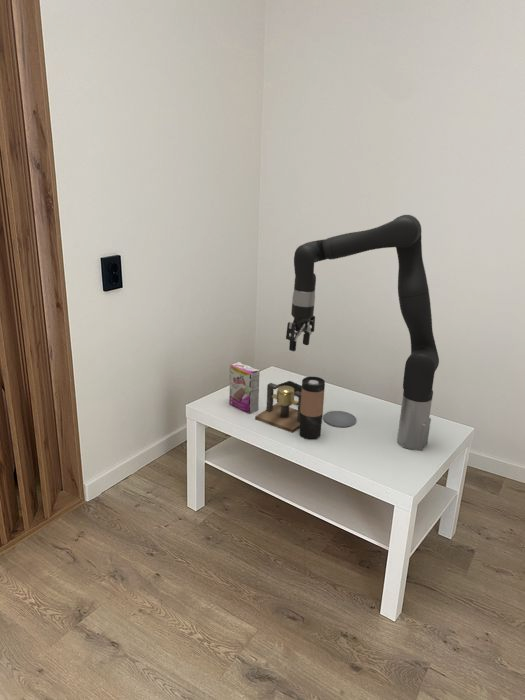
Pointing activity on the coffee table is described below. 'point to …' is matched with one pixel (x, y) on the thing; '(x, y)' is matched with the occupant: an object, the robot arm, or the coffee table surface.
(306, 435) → the travel mug
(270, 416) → the stand
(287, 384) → the phone
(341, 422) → the coaster
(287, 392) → the brass pipe fitting
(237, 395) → the candy bar box
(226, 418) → the coffee table surface
